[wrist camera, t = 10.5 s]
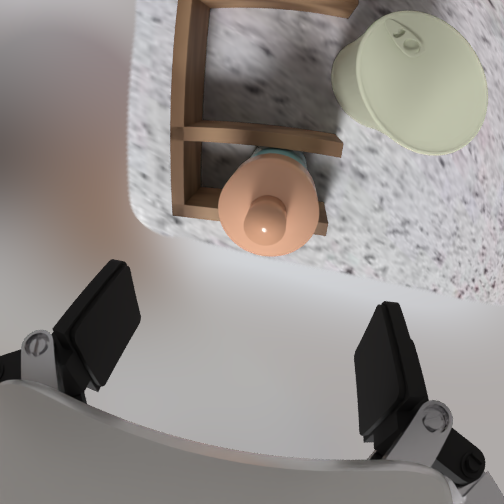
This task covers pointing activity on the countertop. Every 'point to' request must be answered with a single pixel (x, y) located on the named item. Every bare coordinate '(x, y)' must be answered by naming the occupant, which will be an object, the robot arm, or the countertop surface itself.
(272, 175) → the lid
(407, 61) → the can
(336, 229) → the countertop surface
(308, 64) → the countertop surface
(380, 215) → the countertop surface
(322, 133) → the caddy
